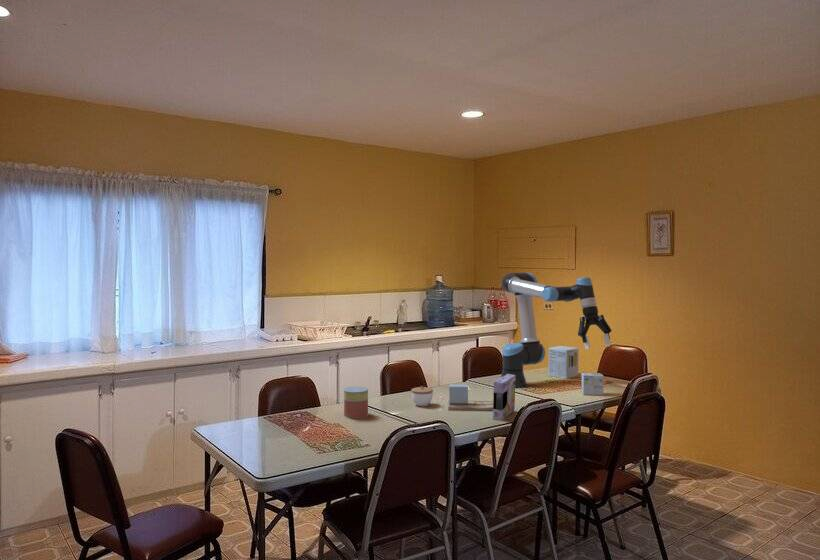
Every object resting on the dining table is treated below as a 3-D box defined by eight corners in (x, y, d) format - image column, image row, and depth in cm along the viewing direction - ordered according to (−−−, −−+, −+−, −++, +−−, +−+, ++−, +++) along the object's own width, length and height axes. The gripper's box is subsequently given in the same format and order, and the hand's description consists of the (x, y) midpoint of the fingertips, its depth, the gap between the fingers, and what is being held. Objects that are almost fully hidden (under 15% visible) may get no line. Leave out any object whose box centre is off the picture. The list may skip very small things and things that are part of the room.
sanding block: (449, 402, 287) (449, 384, 286) (467, 402, 286) (467, 384, 286) (449, 405, 282) (449, 386, 281) (467, 405, 281) (467, 386, 281)
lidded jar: (426, 408, 281) (426, 389, 280) (407, 405, 286) (407, 387, 286) (436, 403, 290) (436, 385, 289) (418, 401, 295) (418, 383, 295)
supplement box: (566, 379, 348) (566, 350, 347) (548, 375, 358) (548, 347, 357) (578, 376, 357) (579, 347, 356) (560, 372, 367) (560, 345, 366)
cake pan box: (501, 421, 259) (501, 382, 258) (491, 419, 261) (491, 381, 260) (515, 411, 275) (516, 374, 275) (505, 410, 278) (505, 373, 277)
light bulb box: (601, 392, 313) (601, 372, 312) (603, 395, 306) (604, 375, 306) (580, 392, 314) (580, 372, 313) (583, 395, 307) (583, 375, 307)
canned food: (373, 415, 270) (373, 389, 269) (353, 419, 262) (353, 393, 262) (358, 410, 278) (357, 385, 277) (339, 414, 270) (338, 389, 270)
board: (448, 403, 291) (448, 400, 291) (500, 404, 289) (500, 401, 289) (448, 410, 278) (448, 407, 278) (502, 411, 276) (502, 407, 276)
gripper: (574, 307, 291) (583, 349, 287) (612, 303, 301) (622, 344, 297) (565, 310, 298) (574, 351, 293) (603, 306, 308) (611, 346, 304)
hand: (598, 347), depth 295 cm, fingers open, 13 cm apart
